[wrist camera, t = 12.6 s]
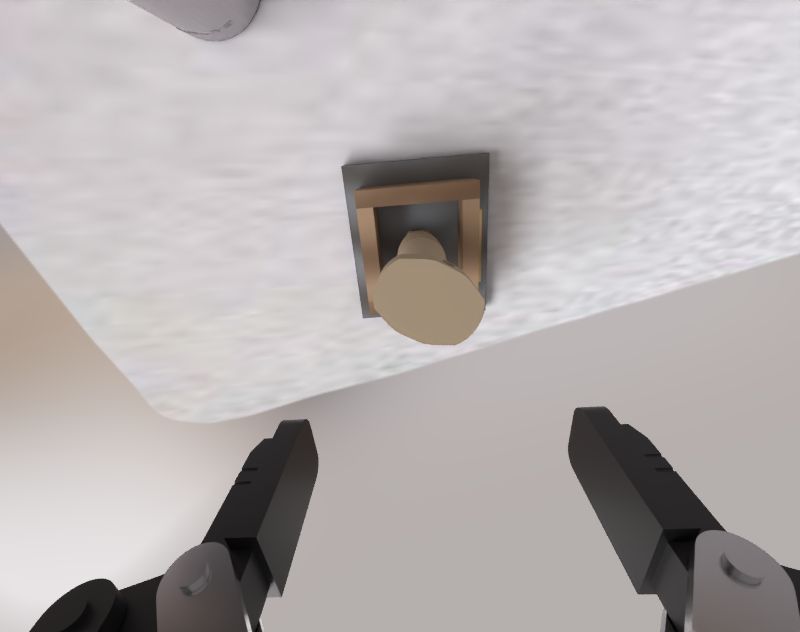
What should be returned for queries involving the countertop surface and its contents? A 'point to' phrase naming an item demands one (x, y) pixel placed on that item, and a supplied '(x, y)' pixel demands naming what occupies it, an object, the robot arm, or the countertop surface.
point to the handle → (427, 294)
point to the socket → (418, 214)
